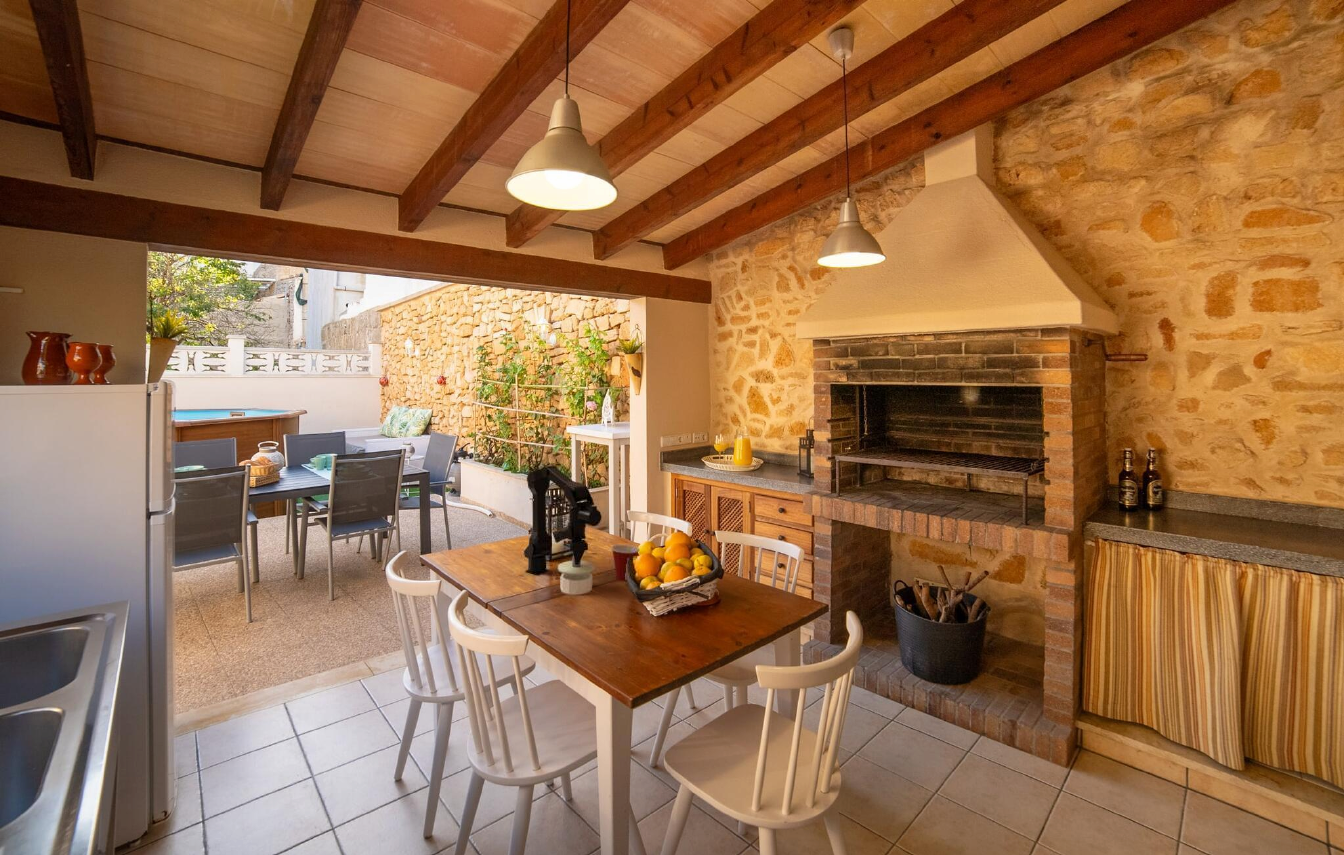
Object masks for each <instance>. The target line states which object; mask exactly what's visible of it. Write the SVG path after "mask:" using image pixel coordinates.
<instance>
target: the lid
mask: <svg viewBox="0 0 1344 855" xmlns="http://www.w3.org/2000/svg"><path fill="white" fill-rule="evenodd" d="M557 571H558V572H560V573H561V574H563V573H564V574H569V575H582V574H587V573H592V572H593V571H595V564H594V563H592V562H590V561H587V560H582V559H581V560H580V562H579V565H575V560H574V556H572V560H569V561H568V560H567V561H564V562H561V563H560V564H558V565H557Z"/></svg>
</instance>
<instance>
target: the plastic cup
mask: <svg viewBox="0 0 1344 855" xmlns="http://www.w3.org/2000/svg"><path fill="white" fill-rule="evenodd" d="M611 551H612V556H613V562H614V563H613V564H614V570H615V575H616V579H617V581H618V580H619V581H622V582H623V581H625V573H626V564H627V558H629V557H630V556H636V555H637V556H638V553H639V552H640V548H639V547H637V546H633V545H627V544H626V545H624V544H617V545H612V546H611Z"/></svg>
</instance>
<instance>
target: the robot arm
mask: <svg viewBox="0 0 1344 855" xmlns="http://www.w3.org/2000/svg"><path fill="white" fill-rule="evenodd" d="M526 481H527V488H528V490H529V491H530V493H531V494H532V532H531V534H530V537H529V539H528V545H527V547H525V549H524V551H523V555H524V557H525V558H526V559H528V564H527V565H528V568H527V569H526V570H525V573H529V574H532V575H536V576H539V575H541V574H544V573H546V572H549V569H548V568H547V557H548V556H550V555H551V551H552V546H553V542H552V541H553V540H552V539H554V541H555V543H557V544H558V543H560V542H562V541H564V540H566V539H567V544H568V549H569V551H570V552H572V554H573V556H574V560H575V565H579V562H580V560H581V561H582V557H583V555H584V554H585V552H586V551H588V550H589V544H588V542H587V541H586V538H587V537H586V528H587V525H588V526H592V527H596V526H598V525H600V523H601V521H602V514H601V513H602V512H600V511H599V509H598V506H597V505H595V502H594V498H593V496H592V495H591V493H590V490H589V487H588V486H587V485H585V484H583V483H581V482H577V481H574V480H572V479H571V478H570V477H569V476H567V475H566V474H565V473H563V471H561V470H560V469H559V468H558V467H557V465H554V464H553V465H547V466H546V465H545V466H543V467H541V468H539V469H537V470H534V471H530V472H529V473H528V474H527V477H526ZM551 482H552V483H553V485H555V486H557V487H558V488H559V489H560V490H562V491H563V496H564V498H565V499H566V500H567V501H568V502H567V503H566V504H565V506H566V507H567V508H569V510H568V511H569V512H568V515H569V516H568V522H567V526H564V527H562V528H560V529H556V530H554V531H553V532H552V535H550V534H549V532H548V530H547V503H546V502H547V500H546V499H547V496H546V494H547V492H548V490H549V488H550V487H551V486H550V485H551ZM533 499H534V501H533Z"/></svg>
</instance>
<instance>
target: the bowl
mask: <svg viewBox="0 0 1344 855" xmlns="http://www.w3.org/2000/svg"><path fill="white" fill-rule="evenodd" d="M559 580H560V581H559V582H560V584H559V588H560V592H561V593H563V594H565V595H568V596H580V595H586V594H588V593H590V592H591V591H592V588H593V574H592V572H590V573H587V574H582V575H569V574H564V573H561V575H560V578H559Z"/></svg>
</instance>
